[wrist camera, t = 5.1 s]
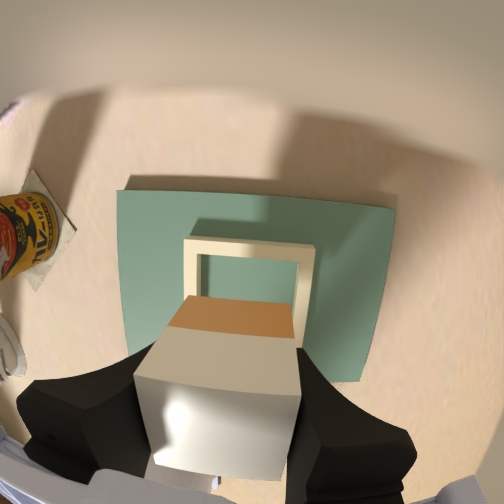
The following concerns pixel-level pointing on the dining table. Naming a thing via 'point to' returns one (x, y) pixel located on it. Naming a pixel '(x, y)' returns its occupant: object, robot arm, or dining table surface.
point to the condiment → (31, 232)
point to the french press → (10, 352)
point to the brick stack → (222, 388)
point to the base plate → (257, 265)
